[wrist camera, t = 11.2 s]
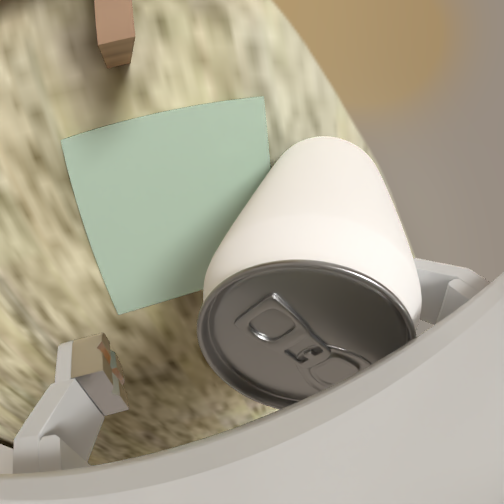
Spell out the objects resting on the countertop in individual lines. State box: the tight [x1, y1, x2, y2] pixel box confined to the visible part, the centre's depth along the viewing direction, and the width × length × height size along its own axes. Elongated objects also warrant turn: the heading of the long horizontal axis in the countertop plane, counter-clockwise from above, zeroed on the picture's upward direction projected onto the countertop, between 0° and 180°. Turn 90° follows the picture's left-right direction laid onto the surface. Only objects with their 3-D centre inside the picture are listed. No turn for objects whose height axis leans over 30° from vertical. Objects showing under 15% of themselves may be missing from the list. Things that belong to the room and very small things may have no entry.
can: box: [197, 136, 422, 410], centre depth 12 cm, size 6×6×12 cm
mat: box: [61, 96, 271, 315], centre depth 17 cm, size 11×11×1 cm
